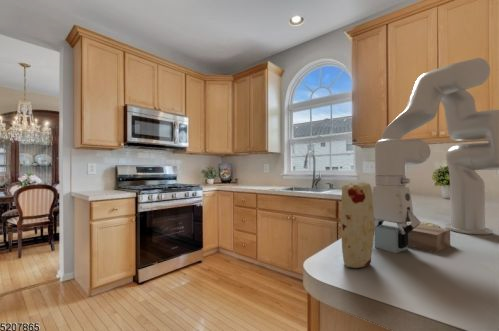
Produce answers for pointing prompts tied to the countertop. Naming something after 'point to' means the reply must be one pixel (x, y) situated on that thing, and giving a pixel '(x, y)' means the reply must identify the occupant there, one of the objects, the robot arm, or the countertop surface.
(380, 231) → the slate cube
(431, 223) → the decorated donut
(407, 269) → the countertop surface
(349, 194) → the food model
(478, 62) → the robot arm
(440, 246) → the walnut block
